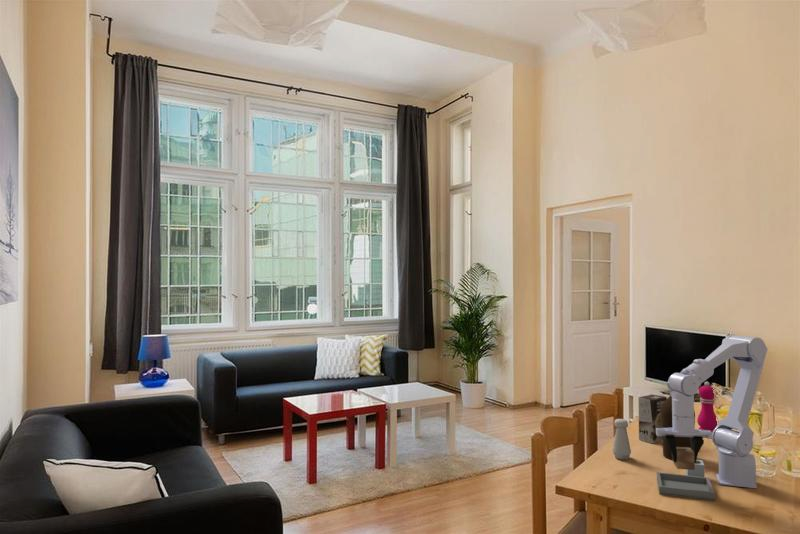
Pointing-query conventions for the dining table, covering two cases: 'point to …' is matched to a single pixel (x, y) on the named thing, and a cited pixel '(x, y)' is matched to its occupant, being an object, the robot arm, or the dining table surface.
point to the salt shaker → (621, 440)
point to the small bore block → (684, 458)
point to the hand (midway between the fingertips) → (683, 461)
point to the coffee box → (650, 417)
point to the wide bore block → (697, 469)
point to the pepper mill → (707, 408)
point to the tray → (685, 486)
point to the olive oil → (667, 423)
